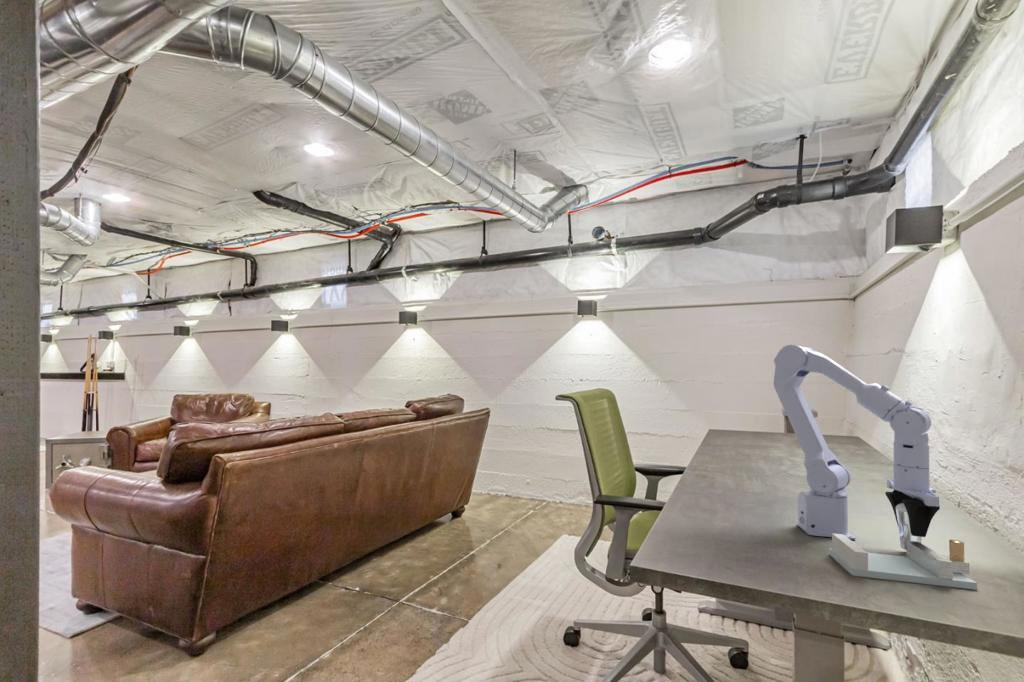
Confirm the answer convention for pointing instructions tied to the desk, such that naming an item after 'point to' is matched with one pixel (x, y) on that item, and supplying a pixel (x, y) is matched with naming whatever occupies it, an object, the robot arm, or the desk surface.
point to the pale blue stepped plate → (888, 566)
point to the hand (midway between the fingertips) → (911, 531)
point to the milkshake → (905, 526)
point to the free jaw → (939, 559)
